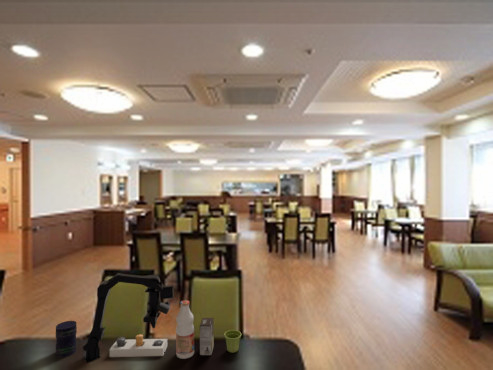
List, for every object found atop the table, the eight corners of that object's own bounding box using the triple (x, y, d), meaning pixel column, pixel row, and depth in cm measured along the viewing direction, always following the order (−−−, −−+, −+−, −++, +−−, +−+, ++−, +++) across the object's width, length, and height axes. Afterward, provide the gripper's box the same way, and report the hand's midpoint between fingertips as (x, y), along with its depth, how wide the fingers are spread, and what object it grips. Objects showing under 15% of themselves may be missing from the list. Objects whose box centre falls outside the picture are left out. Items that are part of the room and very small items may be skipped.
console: (109, 357, 158) (109, 349, 158) (117, 346, 168) (117, 339, 168) (163, 355, 158) (163, 348, 158) (167, 345, 168) (167, 338, 168)
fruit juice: (173, 352, 161) (173, 301, 161) (190, 347, 166) (189, 297, 166) (180, 361, 153) (179, 306, 153) (197, 355, 159) (196, 302, 159)
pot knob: (134, 347, 161) (134, 337, 161) (137, 343, 165) (137, 334, 165) (141, 346, 161) (141, 337, 161) (144, 343, 165) (144, 333, 165)
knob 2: (152, 350, 161) (152, 344, 161) (155, 346, 165) (154, 340, 165) (160, 350, 161) (160, 344, 161) (163, 346, 166) (162, 340, 166)
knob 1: (115, 347, 160) (115, 341, 160) (118, 343, 165) (118, 337, 165) (123, 347, 161) (123, 341, 161) (126, 343, 165) (126, 337, 165)
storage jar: (60, 359, 156) (59, 331, 156) (52, 353, 162) (52, 325, 162) (80, 351, 164) (80, 323, 164) (72, 345, 170) (72, 319, 170)
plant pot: (242, 345, 168) (242, 330, 168) (240, 355, 159) (240, 338, 159) (225, 344, 169) (225, 329, 169) (222, 354, 160) (222, 338, 160)
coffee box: (202, 346, 168) (202, 317, 168) (213, 346, 168) (213, 317, 168) (199, 355, 159) (199, 325, 159) (211, 355, 159) (211, 325, 159)
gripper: (164, 306, 154) (164, 336, 154) (172, 293, 173) (172, 320, 173) (143, 306, 154) (142, 336, 154) (153, 293, 172) (153, 320, 172)
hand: (153, 327), depth 163 cm, fingers closed
